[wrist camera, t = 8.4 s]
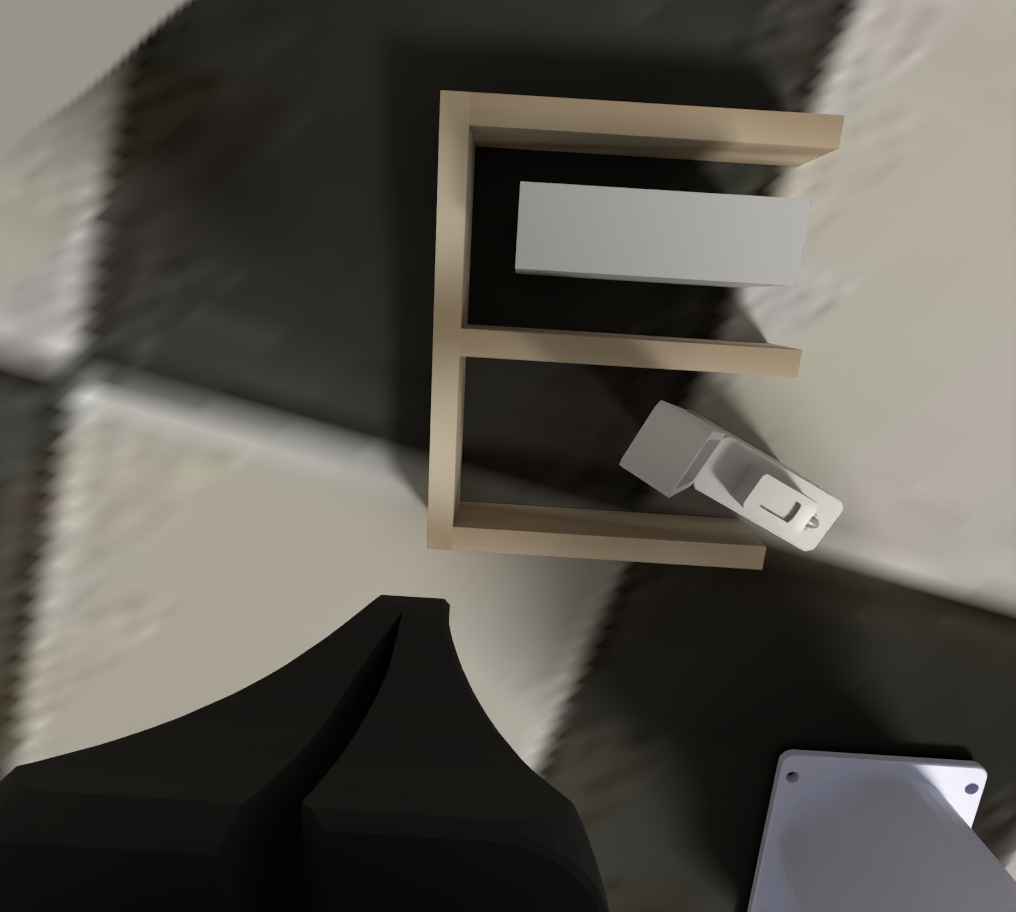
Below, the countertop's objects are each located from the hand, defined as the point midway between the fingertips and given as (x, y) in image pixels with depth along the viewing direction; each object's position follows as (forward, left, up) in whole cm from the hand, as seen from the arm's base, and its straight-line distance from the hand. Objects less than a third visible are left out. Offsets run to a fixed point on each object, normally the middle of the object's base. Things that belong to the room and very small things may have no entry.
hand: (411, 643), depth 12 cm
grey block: (+8, -5, -10) cm, 14 cm away
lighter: (+2, -8, -11) cm, 13 cm away
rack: (+5, -5, -10) cm, 13 cm away
